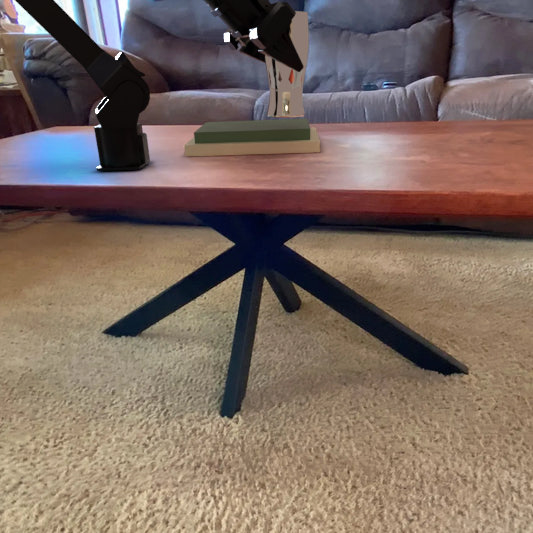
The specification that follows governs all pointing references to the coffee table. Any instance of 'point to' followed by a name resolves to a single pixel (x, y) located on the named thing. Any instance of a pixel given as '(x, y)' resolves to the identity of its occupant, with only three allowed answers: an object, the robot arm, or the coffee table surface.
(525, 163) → the coffee table surface
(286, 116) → the beer glass
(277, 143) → the book stack
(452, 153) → the coffee table surface
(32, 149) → the coffee table surface
